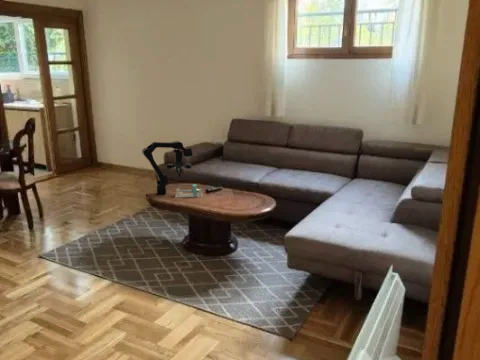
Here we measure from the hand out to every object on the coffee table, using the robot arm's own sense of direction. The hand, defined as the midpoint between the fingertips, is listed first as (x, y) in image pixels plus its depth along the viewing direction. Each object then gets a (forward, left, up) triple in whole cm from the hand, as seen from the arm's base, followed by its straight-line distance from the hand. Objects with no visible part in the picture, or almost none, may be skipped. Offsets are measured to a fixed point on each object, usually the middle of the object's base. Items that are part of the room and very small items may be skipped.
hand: (179, 176), depth 330 cm
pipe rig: (+8, -11, -12) cm, 18 cm away
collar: (+12, -11, -11) cm, 20 cm away
